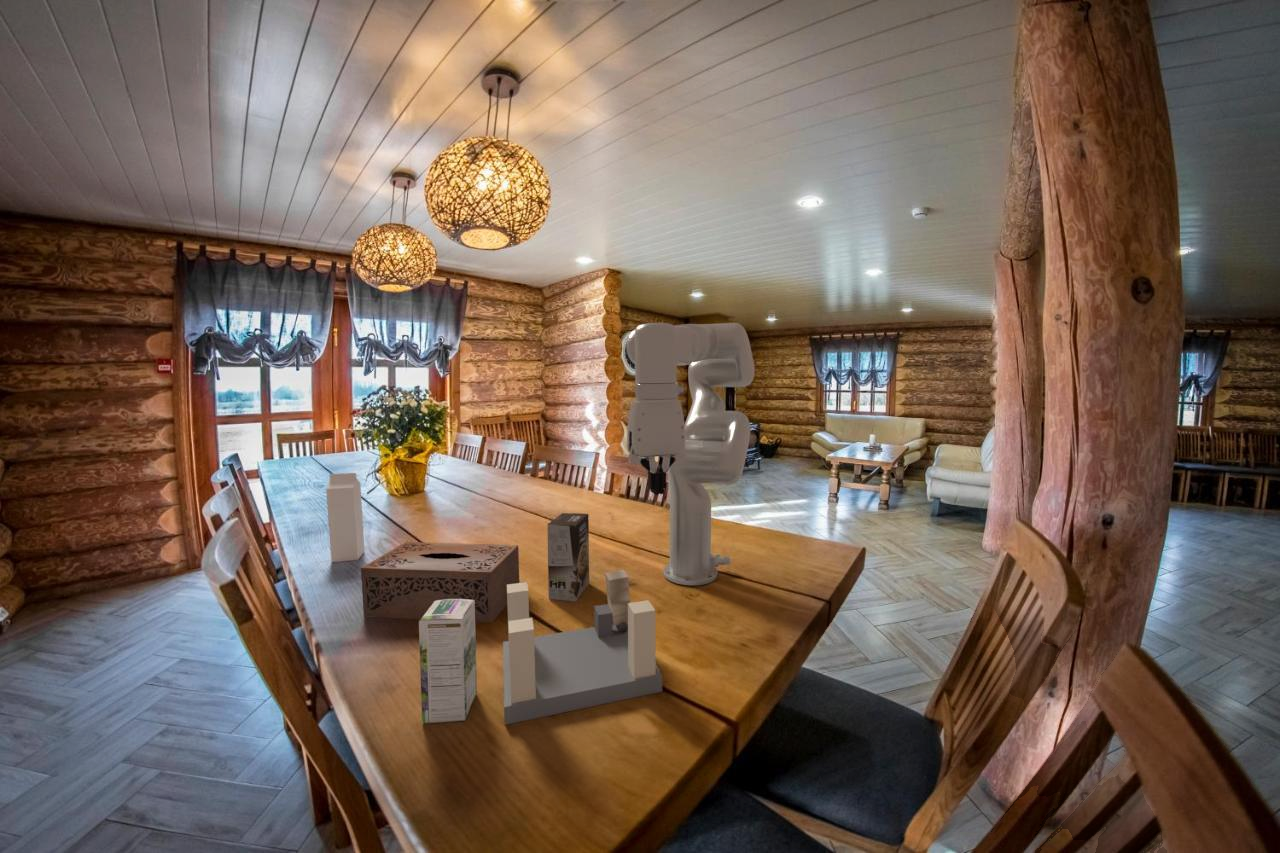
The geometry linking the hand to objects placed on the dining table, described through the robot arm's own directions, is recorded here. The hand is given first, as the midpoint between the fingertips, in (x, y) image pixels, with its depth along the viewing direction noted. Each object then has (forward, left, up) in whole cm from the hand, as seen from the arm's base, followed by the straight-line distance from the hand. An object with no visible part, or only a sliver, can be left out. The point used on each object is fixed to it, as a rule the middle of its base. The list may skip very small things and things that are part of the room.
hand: (657, 492), depth 85 cm
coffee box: (+14, -17, -25) cm, 33 cm away
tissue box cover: (+39, -20, -25) cm, 50 cm away
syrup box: (+35, +14, -25) cm, 45 cm away
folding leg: (+9, +6, -22) cm, 24 cm away
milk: (+66, -54, -25) cm, 89 cm away
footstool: (+17, +12, -25) cm, 32 cm away
